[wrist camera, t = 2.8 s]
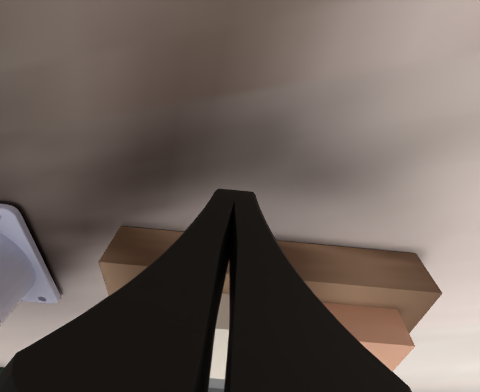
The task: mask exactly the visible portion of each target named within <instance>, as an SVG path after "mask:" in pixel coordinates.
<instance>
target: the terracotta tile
mask: <svg viewBox="0 0 480 392" xmlns="http://www.w3.org/2000/svg"><path fill="white" fill-rule="evenodd" d="M322 303H323V304H324V305H325V306H326V307H327V309H328V310H329V311H330V312H331V313H332V314H333V315H334V316H335V317H336V319H337V320H338V321H339V322H340V323H341V324H342V325H343V326H344V327H345V328H346V329H347V330H348V331H349V332H350V333H351V334H352V335H353V336H354V337H355V338H356V339H357V340H358V341H359V342H360V343H361V344H362V345H363V346H364V347H365V348H366V349H368V350H369V351H370V352H371V353H372V354H373V355H374V356H375V357H377V358H378V359H379V360H380V361H381V362H382V363H383V364H384V365H385V366H387V367H388V368H389V369H390V370H391V371H393V370H394V369H395V368H396V367H397V366H398V365H399V364H400V363H401V361H402V360H403V359H404V358H405V357H406V356H407V355H408V354H409V352H410V351H411V350H412V349H413V348H414V347H415V345H414V343H413V341H412V339H411V337H410V335H409V333H408V331H407V329H406V326H405V324H404V322H403V320H402V318H401V316H400V314H399V312H398V310H397V309H390V308H379V307H368V306H357V305H346V304H335V303H324V302H322Z"/></svg>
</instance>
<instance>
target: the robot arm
mask: <svg viewBox="0 0 480 392" xmlns="http://www.w3.org/2000/svg"><path fill="white" fill-rule="evenodd" d="M228 263H229V336H228V348H227V360H226V372H225V384H224V392H412V391H411V389H410V387H409V386H408V385H407V384H406V383H404V382H403V381H402V380H401V379H400V378H399V377H398V376H397V375H395V374H394V373H393V372H392V371H391V370H390V369H389V368H388V367H387V366H385V365H384V364H383V363H382V362H381V361H380V360H379V359H378V358H377V357H375V356H374V355H373V354H372V353H371V352H370V351H369V350H368V349H366V348H365V347H364V346H363V345H362V344H361V343H360V342H359V341H358V340H357V339H356V338H355V337H354V336H353V335H352V334H351V333H350V332H349V331H348V330H347V329H346V328H345V327H344V326H343V325H342V324H341V323H340V322H339V321H338V320H337V319H336V317H335V316H334V315H333V314H332V313H331V312H330V311H329V310H328V309H327V307H326V306H325V305H324V304H323V303H322V302H321V301H320V300H319V299H318V297H317V296H316V295H315V294H314V293H313V292H312V290H311V289H310V288H309V287H308V285H307V284H306V283H305V282H304V280H303V279H302V278H301V277H300V275H299V274H298V273H297V271H296V270H295V268H294V267H293V266H292V264H291V263H290V261H289V260H288V258H287V257H286V255H285V254H284V252H283V251H282V249H281V248H280V246H279V244H278V243H277V241H276V239H275V237H274V236H273V234H272V232H271V230H270V228H269V226H268V224H267V222H266V220H265V218H264V216H263V214H262V212H261V209H260V207H259V204H258V202H257V198H256V195H255V194H254V193H253V192H248V191H237V190H227V189H217V190H216V191H215V192H214V194H213V196H212V197H211V199H210V201H209V202H208V204H207V205H206V206H205V208H204V209H203V210H202V212H201V213H200V214H199V215H198V217H197V218H196V219H195V220H194V222H193V223H192V224H191V225H190V226H189V227H188V229H187V230H186V231H185V232H184V233H183V234H182V235H181V236H180V237H179V238H178V239H177V240H176V241H175V242H174V243H173V244H172V245H171V246H170V247H169V248H168V249H167V250H166V251H165V252H164V253H163V254H162V255H161V256H160V257H159V258H157V259H156V260H155V261H154V262H153V263H152V264H151V265H149V266H148V267H147V268H146V269H144V270H143V271H142V272H141V273H139V274H138V275H137V276H136V277H135V278H133V279H132V280H131V281H129V282H128V283H127V284H125V285H124V286H123V287H121V288H120V289H118V290H117V291H116V292H114V293H113V294H111V295H110V296H108V297H107V298H105V299H104V300H102V301H101V302H100V303H98V304H97V305H95V306H94V307H92V308H91V309H89V310H88V311H86V312H85V313H83V314H82V315H80V316H79V317H77V318H75V319H74V320H72V321H70V322H69V323H67V324H65V325H64V326H62V327H60V328H59V329H57V330H55V331H54V332H52V333H50V334H49V335H47V336H45V337H44V338H42V339H40V340H39V341H37V342H35V343H34V344H32V345H30V346H28V347H27V348H25V349H23V350H21V351H19V352H18V353H16V354H15V356H14V357H13V358H12V359H11V361H10V362H9V363H8V364H7V366H6V367H5V368H4V369H3V370H2V372H1V373H0V392H208V388H209V380H210V371H211V362H212V354H213V345H214V337H215V328H216V322H217V316H218V311H219V307H220V302H221V297H222V292H223V287H224V282H225V277H226V273H227V268H228ZM60 298H61V296H60V294H59V292H58V289H57V287H56V285H55V283H54V281H53V279H52V277H51V275H50V273H49V271H48V269H47V267H46V265H45V263H44V261H43V259H42V257H41V254H40V252H39V250H38V248H37V246H36V244H35V242H34V240H33V238H32V236H31V234H30V232H29V230H28V228H27V226H26V224H25V221H24V219H23V217H22V215H21V213H20V212H19V210H18V209H17V208H15V207H14V206H11V205H7V204H0V325H1V324H2V323H3V322H4V320H5V319H6V318H7V317H8V316H9V314H10V313H11V312H12V311H13V309H14V308H15V307H16V306H17V304H18V303H19V302H20V301H26V302H37V303H48V304H55V303H57V302H58V301H59V299H60Z"/></svg>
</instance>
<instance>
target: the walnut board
mask: <svg viewBox="0 0 480 392" xmlns="http://www.w3.org/2000/svg"><path fill="white" fill-rule="evenodd" d="M183 233H184V232H178V231H167V230H156V229H146V228H135V227H124V226H121V227H120V228H119V230H118V231H117V233H116V235H115V236H114V238H113V239H112V241H111V243H110V244H109V246H108V247H107V249H106V251H105V252H104V254H103V255H102V257H101V259H100V260H99V265H100V268H101V272H102V275H103V278H104V281H105V284H106V287H107V290H108V294H109V296H110V295H111V294H113V293H114V292H116V291H117V290H118V289H120V288H121V287H123V286H124V285H125V284H127V283H128V282H129V281H131V280H132V279H133V278H135V277H136V276H137V275H138V274H139V273H141V272H142V271H143V270H144V269H146V268H147V267H148V266H149V265H151V264H152V263H153V262H154V261H155V260H156V259H157V258H159V257H160V256H161V255H162V254H163V253H164V252H165V251H166V250H167V249H168V248H169V247H170V246H171V245H172V244H173V243H174V242H175V241H176V240H177V239H178V238H179V237H180V236H181V235H182V234H183ZM277 243H278V244H279V246H280V248H281V249H282V251H283V252H284V254H285V255H286V257H287V258H288V260H289V261H290V263H291V264H292V266H293V267H294V268H295V270H296V271H297V273H298V274H299V275H300V277H301V278H302V279H303V280H304V282H305V283H306V284H307V285H308V287H309V288H310V289H311V290H312V292H313V293H314V294H315V295H316V296H317V297H318V299H319V300H320V301H321V302H324V303H335V304H346V305H357V306H368V307H379V308H390V309H397V310H398V312H399V314H400V316H401V318H402V320H403V322H404V324H405V326H406V329H407V331H408V333H410V332H411V331H412V329H413V328H414V327H415V326H416V325H417V323H418V322H419V321H420V320H421V319H422V317H423V316H424V315H425V314H426V313H427V311H428V310H429V309H430V308H431V306H432V305H433V304H434V303H435V302H436V300H437V299H438V298H439V297H440V296H441V294H442V292H441V290H440V289H439V287H438V286H437V284H436V283H435V281H434V280H433V278H432V277H431V275H430V274H429V272H428V271H427V269H426V268H425V266H424V265H423V263H422V262H421V260H420V259H419V257H418V256H417V254H416V253H405V252H394V251H384V250H373V249H362V248H351V247H340V246H329V245H319V244H308V243H297V242H286V241H277ZM222 293H224V294H229V263H228V268H227V273H226V277H225V282H224V287H223V292H222Z"/></svg>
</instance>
